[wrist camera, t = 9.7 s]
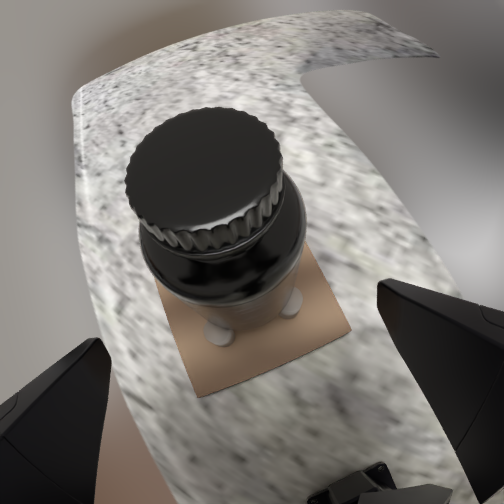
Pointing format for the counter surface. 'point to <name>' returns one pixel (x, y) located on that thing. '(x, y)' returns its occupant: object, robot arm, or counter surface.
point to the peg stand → (256, 333)
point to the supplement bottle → (218, 215)
